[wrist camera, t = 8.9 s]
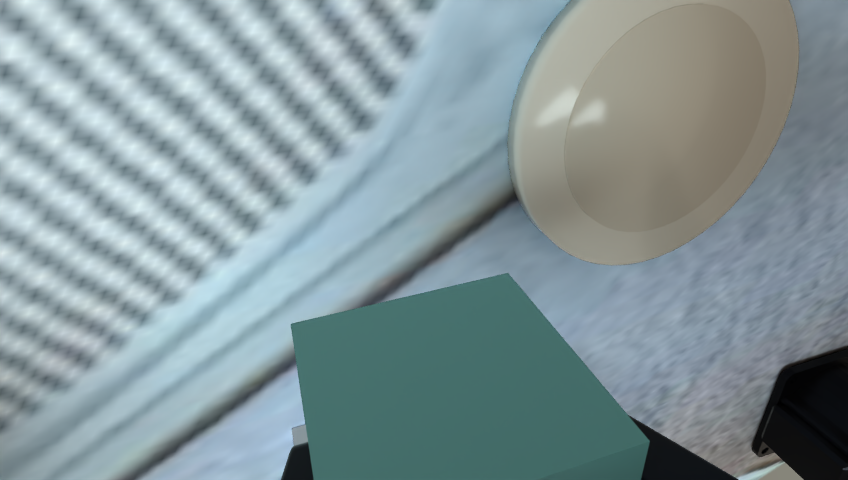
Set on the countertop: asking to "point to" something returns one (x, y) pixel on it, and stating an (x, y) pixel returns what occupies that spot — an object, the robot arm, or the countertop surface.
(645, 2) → the saucer
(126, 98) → the countertop surface
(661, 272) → the countertop surface
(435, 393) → the block
